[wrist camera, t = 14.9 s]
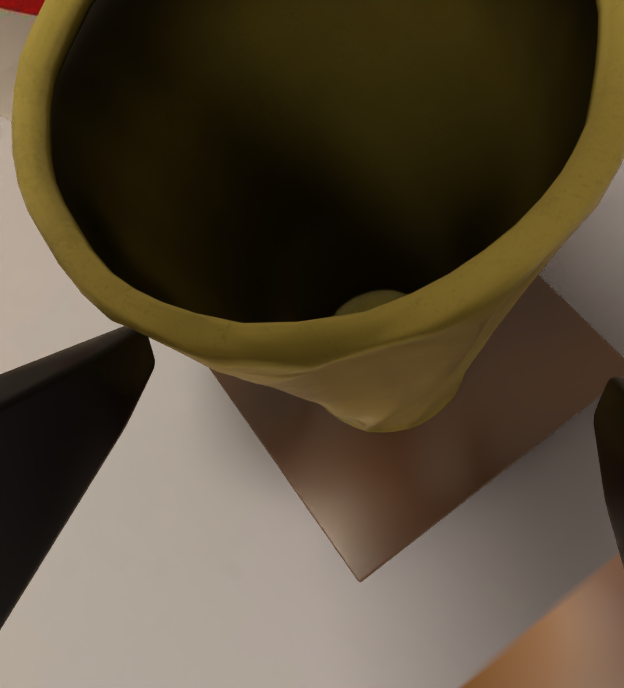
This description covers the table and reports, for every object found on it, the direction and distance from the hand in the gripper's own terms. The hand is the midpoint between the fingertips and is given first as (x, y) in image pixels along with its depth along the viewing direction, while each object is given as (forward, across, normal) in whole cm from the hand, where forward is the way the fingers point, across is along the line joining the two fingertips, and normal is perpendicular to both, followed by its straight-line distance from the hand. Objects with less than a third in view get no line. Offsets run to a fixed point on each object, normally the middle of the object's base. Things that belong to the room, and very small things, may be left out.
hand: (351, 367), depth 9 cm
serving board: (+8, 0, +5) cm, 10 cm away
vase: (+7, 0, +5) cm, 9 cm away
